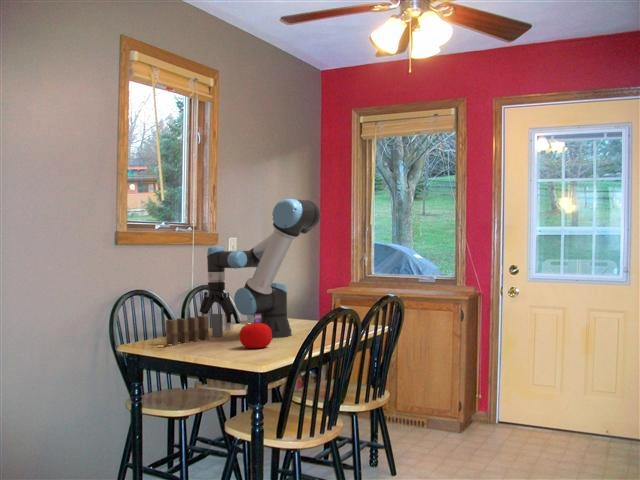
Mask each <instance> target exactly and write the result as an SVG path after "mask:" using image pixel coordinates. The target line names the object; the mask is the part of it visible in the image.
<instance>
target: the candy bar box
mask: <svg viewBox="0 0 640 480" xmlns="http://www.w3.org/2000/svg"><path fill="white" fill-rule="evenodd" d="M246 316H247V324H248V323H254V322H256V323H260V320H261V314H254V315H246Z"/></svg>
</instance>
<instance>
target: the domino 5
mask: <svg viewBox="0 0 640 480" xmlns="http://www.w3.org/2000/svg"><path fill="white" fill-rule="evenodd" d="M223 329H224V324H223V313H212V314H211V336H215V337H214V338H216V337H217V338H223V337H224V334H223V333H224V330H223Z"/></svg>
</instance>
